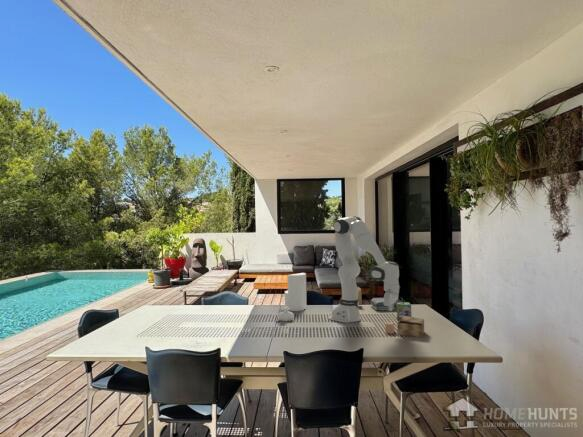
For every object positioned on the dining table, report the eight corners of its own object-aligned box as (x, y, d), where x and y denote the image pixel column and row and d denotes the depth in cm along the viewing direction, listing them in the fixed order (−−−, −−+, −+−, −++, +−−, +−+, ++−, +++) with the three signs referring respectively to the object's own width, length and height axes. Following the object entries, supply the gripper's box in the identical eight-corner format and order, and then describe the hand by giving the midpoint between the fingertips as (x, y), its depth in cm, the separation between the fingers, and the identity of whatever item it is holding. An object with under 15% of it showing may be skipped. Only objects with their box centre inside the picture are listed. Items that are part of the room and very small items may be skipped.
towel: (370, 307, 275) (369, 297, 275) (392, 306, 277) (391, 296, 277) (376, 311, 260) (375, 301, 260) (399, 310, 261) (399, 300, 262)
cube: (385, 332, 208) (385, 323, 208) (386, 330, 212) (386, 321, 212) (393, 333, 206) (392, 324, 206) (394, 331, 210) (394, 322, 210)
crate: (397, 334, 205) (397, 322, 205) (400, 329, 215) (400, 318, 215) (422, 337, 199) (422, 325, 199) (424, 332, 208) (424, 320, 209)
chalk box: (411, 322, 230) (411, 300, 230) (397, 321, 232) (397, 299, 232) (410, 318, 239) (409, 297, 239) (396, 318, 241) (396, 297, 241)
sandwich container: (340, 305, 281) (340, 287, 282) (358, 304, 283) (358, 286, 283) (343, 308, 273) (342, 289, 273) (361, 307, 274) (361, 288, 275)
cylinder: (311, 308, 272) (310, 273, 272) (296, 313, 259) (295, 276, 260) (295, 305, 283) (294, 271, 284) (280, 309, 271) (279, 274, 272)
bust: (294, 320, 240) (293, 303, 240) (294, 323, 232) (294, 306, 233) (277, 320, 239) (276, 304, 240) (277, 323, 232) (276, 306, 232)
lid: (397, 320, 205) (397, 318, 205) (400, 316, 215) (400, 314, 215) (422, 324, 199) (422, 322, 199) (424, 319, 209) (424, 318, 209)
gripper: (391, 291, 199) (391, 315, 199) (400, 286, 217) (400, 307, 217) (381, 290, 203) (380, 313, 203) (390, 284, 220) (390, 306, 220)
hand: (390, 310), depth 210 cm, fingers closed
